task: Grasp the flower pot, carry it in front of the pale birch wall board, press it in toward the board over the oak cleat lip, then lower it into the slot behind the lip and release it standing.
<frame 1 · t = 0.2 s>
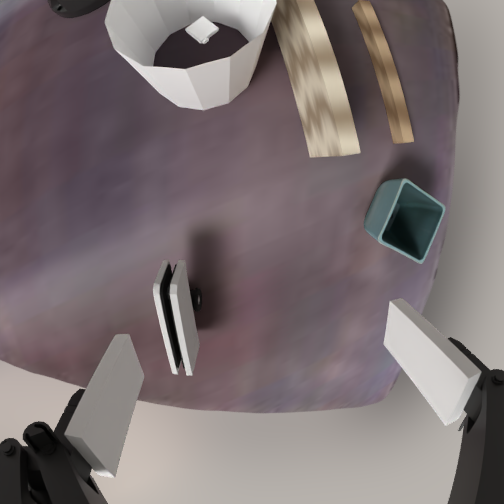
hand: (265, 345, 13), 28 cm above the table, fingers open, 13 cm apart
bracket: (189, 350, 41), point 4 cm above the table
flower pot: (381, 210, 41), on the table
container: (202, 63, 33), on the table
cleat board: (340, 71, 34), on the table
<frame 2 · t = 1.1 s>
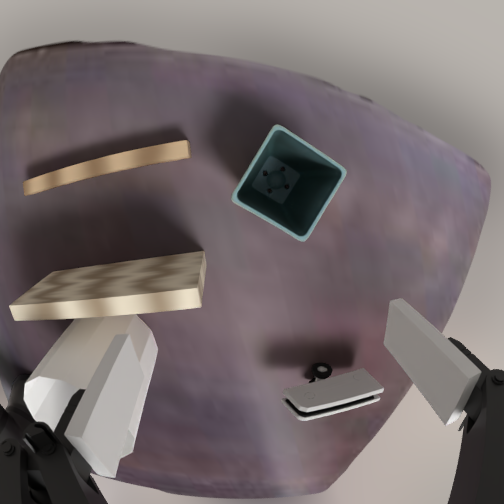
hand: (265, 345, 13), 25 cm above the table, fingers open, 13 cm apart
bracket: (365, 377, 43), point 3 cm above the table
flower pot: (274, 179, 36), on the table
container: (114, 342, 40), on the table
cleat board: (110, 219, 35), on the table
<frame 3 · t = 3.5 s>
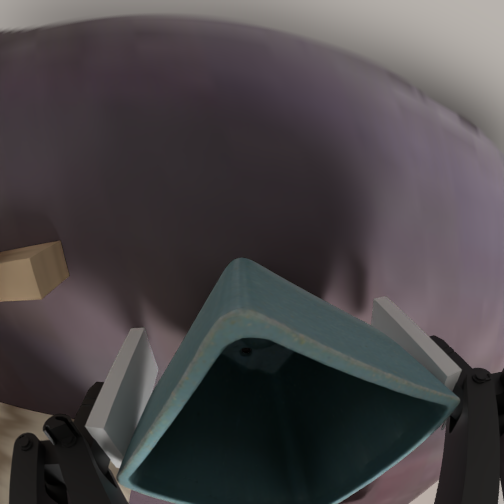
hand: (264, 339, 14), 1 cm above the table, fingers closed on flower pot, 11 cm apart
flower pot: (258, 324, 15), on the table, touching gripper
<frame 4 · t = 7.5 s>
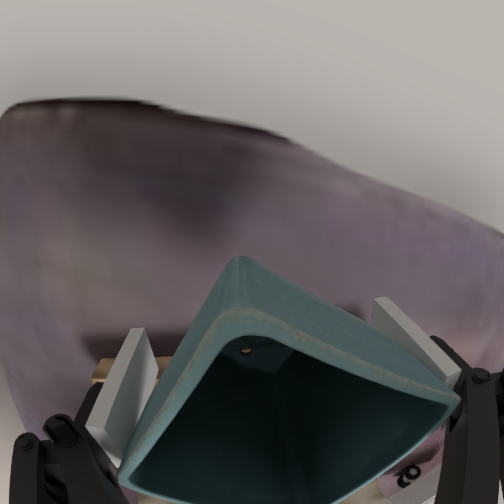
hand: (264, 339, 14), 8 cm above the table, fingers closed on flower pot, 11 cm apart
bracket: (442, 468, 33), point 3 cm above the table
flower pot: (258, 323, 15), point 6 cm above the table, touching gripper
cleat board: (242, 412, 25), on the table
when the fingers open (3 cm above the table, at t = 11.8 s): flower pot moves 2 cm, on the table.
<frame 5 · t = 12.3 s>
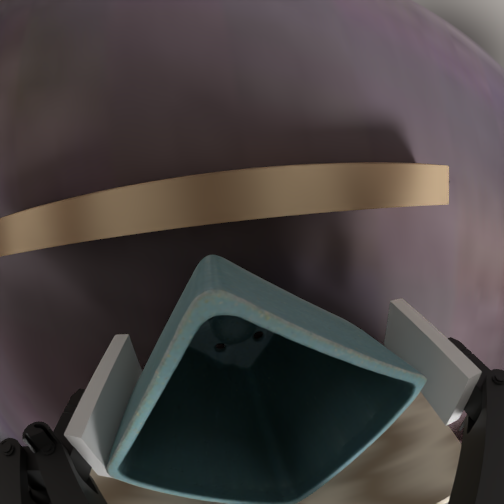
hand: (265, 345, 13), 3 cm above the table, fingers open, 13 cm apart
flower pot: (230, 320, 16), on the table, touching gripper
cleat board: (226, 317, 16), on the table
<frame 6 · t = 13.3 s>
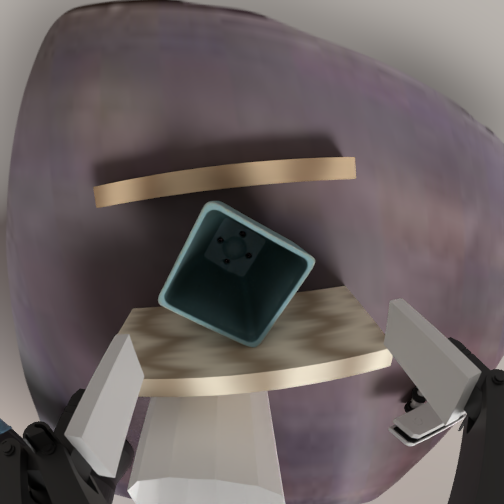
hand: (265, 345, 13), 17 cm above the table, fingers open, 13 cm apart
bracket: (452, 397, 36), point 3 cm above the table
flower pot: (233, 246, 29), on the table, touching cleat board
container: (211, 386, 35), on the table
cleat board: (230, 245, 29), on the table
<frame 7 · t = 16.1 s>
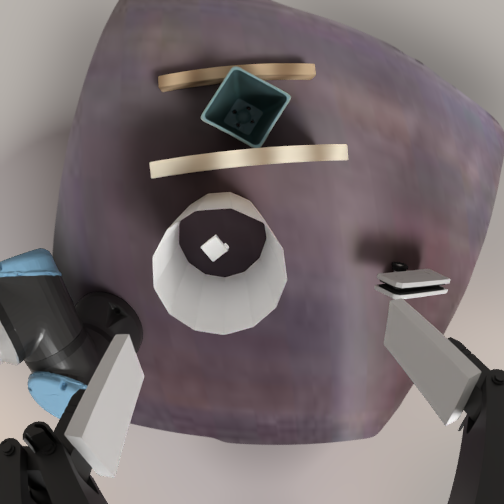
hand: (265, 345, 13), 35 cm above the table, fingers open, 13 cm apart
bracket: (431, 277, 49), point 3 cm above the table
flower pot: (242, 117, 42), on the table, touching cleat board
container: (221, 235, 48), on the table
cleat board: (240, 116, 42), on the table
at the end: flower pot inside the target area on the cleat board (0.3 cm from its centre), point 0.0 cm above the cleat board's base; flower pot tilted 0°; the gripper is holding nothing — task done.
